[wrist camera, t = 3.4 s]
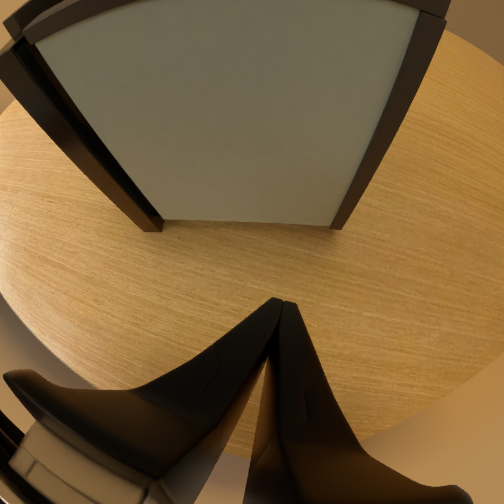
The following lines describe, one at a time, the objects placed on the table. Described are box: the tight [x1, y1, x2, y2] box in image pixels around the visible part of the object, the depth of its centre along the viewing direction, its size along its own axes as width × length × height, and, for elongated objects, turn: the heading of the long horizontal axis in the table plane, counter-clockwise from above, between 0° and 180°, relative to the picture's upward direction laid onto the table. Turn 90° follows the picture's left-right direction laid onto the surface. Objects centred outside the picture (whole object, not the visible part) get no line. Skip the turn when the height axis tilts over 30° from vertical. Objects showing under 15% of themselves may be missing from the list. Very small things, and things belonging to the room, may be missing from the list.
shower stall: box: [0, 0, 164, 232], centre depth 13 cm, size 14×15×18 cm
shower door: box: [22, 0, 451, 230], centre depth 11 cm, size 1×12×16 cm, turn 86°
